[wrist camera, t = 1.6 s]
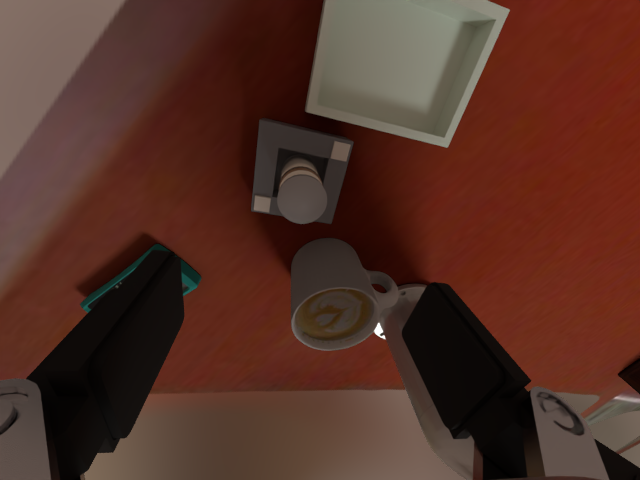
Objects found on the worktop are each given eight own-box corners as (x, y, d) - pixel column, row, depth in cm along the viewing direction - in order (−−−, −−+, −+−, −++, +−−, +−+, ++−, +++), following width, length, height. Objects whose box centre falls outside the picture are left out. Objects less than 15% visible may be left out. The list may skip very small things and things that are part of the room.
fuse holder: (346, 137, 26) (354, 142, 23) (327, 212, 30) (331, 225, 27) (263, 117, 25) (259, 119, 21) (255, 199, 29) (250, 212, 25)
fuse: (320, 157, 26) (332, 181, 18) (312, 192, 28) (321, 227, 20) (284, 150, 25) (281, 171, 17) (279, 185, 27) (274, 219, 19)
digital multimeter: (88, 294, 34) (71, 310, 31) (160, 239, 30) (148, 251, 28) (136, 322, 37) (124, 338, 34) (205, 274, 34) (198, 288, 31)
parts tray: (483, 20, 22) (510, 9, 20) (432, 143, 28) (447, 147, 25) (330, -39, 20) (336, -62, 17) (304, 111, 25) (306, 112, 22)
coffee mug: (287, 291, 36) (285, 349, 28) (296, 233, 32) (297, 283, 23) (370, 296, 39) (392, 352, 30) (389, 244, 34) (423, 292, 25)
